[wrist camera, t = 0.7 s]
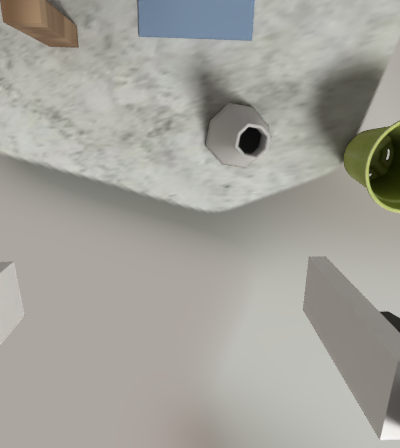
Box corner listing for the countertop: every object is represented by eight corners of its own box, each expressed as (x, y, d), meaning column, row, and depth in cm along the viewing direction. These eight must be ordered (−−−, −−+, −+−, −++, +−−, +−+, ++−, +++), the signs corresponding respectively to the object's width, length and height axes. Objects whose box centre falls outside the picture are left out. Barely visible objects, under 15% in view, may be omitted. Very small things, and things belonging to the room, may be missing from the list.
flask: (195, 149, 39) (197, 159, 29) (225, 91, 37) (237, 81, 27) (247, 177, 40) (266, 195, 30) (279, 122, 38) (309, 123, 28)
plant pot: (402, 190, 41) (456, 209, 33) (327, 197, 41) (362, 217, 33) (410, 112, 38) (472, 110, 30) (330, 119, 38) (369, 119, 30)
